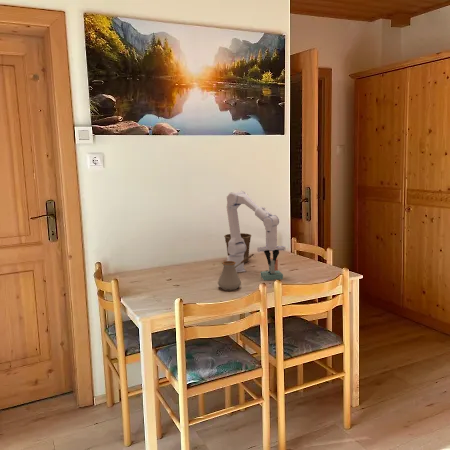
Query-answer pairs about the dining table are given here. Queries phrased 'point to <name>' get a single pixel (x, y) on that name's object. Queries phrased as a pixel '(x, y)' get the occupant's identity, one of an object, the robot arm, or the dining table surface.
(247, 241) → the plant pot
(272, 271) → the steel bar
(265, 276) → the slot block
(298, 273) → the dining table surface
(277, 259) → the square peg
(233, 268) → the coffee pot
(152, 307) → the dining table surface
